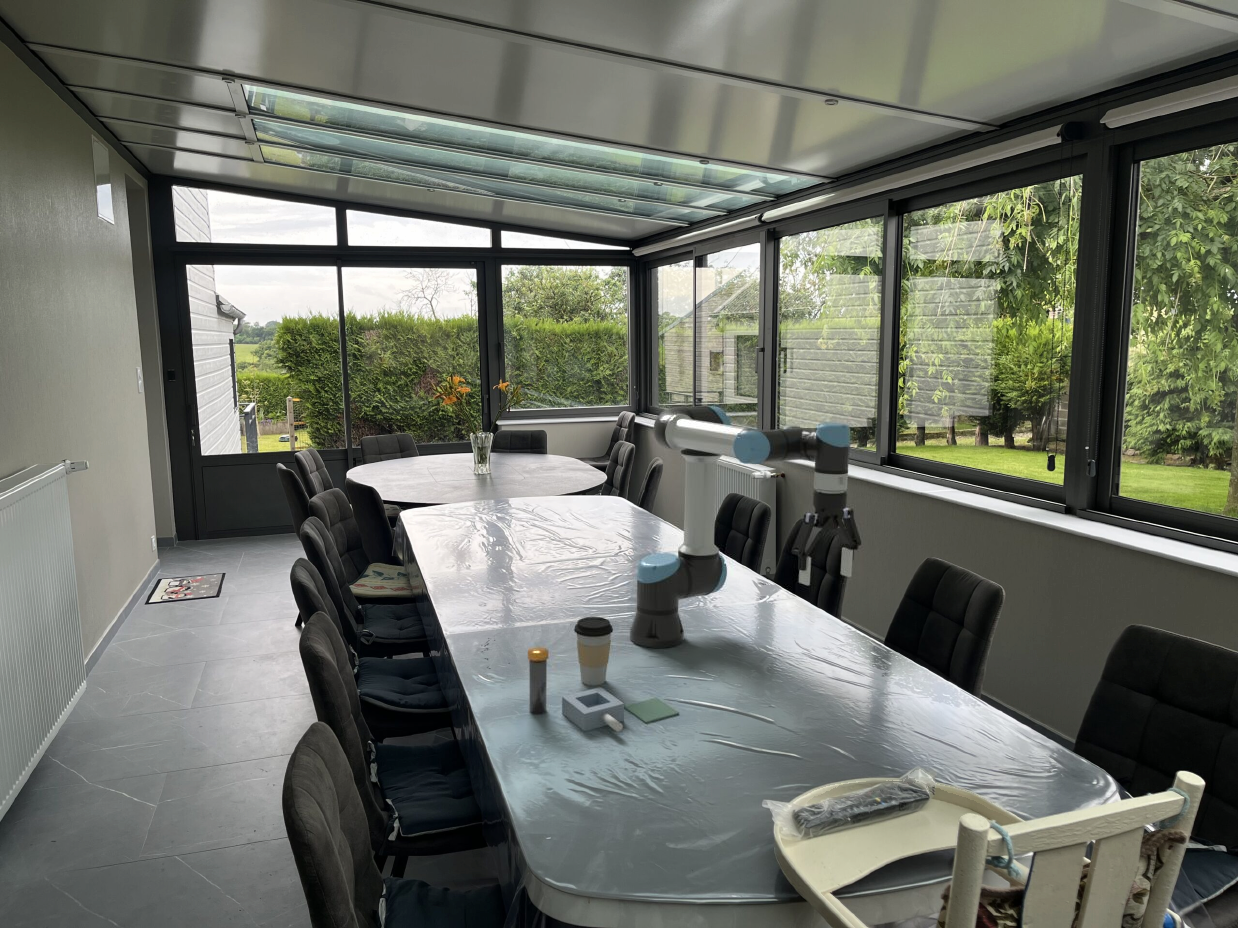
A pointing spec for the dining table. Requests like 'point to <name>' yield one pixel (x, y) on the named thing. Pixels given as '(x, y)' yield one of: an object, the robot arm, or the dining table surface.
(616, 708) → the block
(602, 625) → the coffee cup
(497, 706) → the dining table surface
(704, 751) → the dining table surface
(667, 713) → the pad
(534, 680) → the orange capped tube
